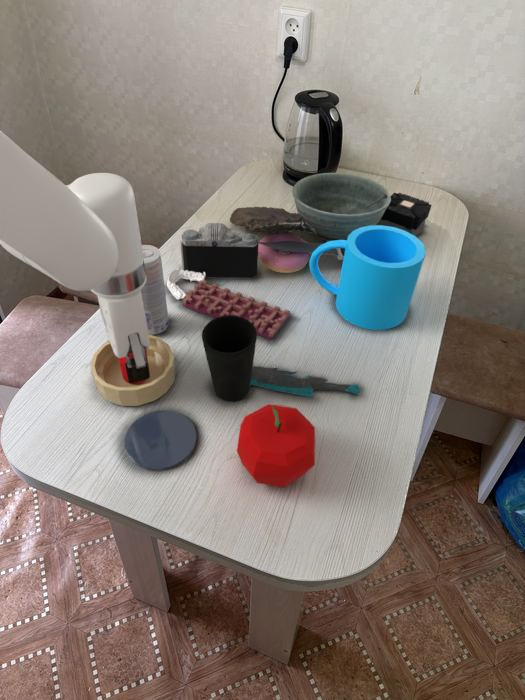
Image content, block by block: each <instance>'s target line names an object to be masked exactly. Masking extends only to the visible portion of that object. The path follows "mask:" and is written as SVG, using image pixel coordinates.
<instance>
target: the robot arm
mask: <svg viewBox="0 0 525 700" xmlns="http://www.w3.org/2000/svg"><path fill="white" fill-rule="evenodd" d="M137 211H138V210H137V205H136V199H135V193H134V189H133V187H132V185H131V183H130V182H129V181H128V180H127V179H126V178H124V177H123V176H122V175H121V176H120V175H118V174H116V173H110V172H93V173H89V174H85V175H82V176H80V177H78V178H76V179H75V180H74V181H72V182H71V183H70V184H67V185H66V184H65V183H63V181H61V180H60V179H59V178H57V176H55V175H54V174H53V173H51V172H50V171H49V170H48V169H47V168H46V167H44V166H43V165H41V164H40V163H39V162H38V161H37V160H36V159H34V158H33V157H32V156H31V155H30V154H28V153H27V152H26V151H25V150H24V149H23V148H21V147H20V146H19V145H18V144H17V143H15V142H14V141H13V140H12V139H11V138H10V137H9V136H8V135H6V133H4V132H3V131H1V130H0V246H1V247H2V248H3V249H4V250H5V251H7V252H8V253H9V254H11V255H12V256H14V257H15V258H16V259H19V260H20V261H22V262H23V263H25V264H26V265H28V266H30V267H32V268H33V269H36V270H37V271H39V272H40V273H42V274H44V275H46V276H47V277H49V278H51V279H52V280H53V281H55V282H57V283H58V284H60V285H61V286H63V287H65V288H67V289H70V290H72V291H73V290H74V291H76V292H77V291H78V292H87V291H88V292H89V291H90V292H91V293H93V294H94V295H96V297H97V301H98V306H99V309H100V310H99V311H100V316H101V320H102V321H101V322H102V324H103V327H104V330H105V333H106V335H107V339H108V341H110V344H111V346H112V349H113V351H114V354H115V356H116V357H118V358H123V357H125V358H126V362H127V363H125V367H126V372H127V377H128V381H129V383H130V384H132V383H135V382H139V381H142V380H145V379H148V378H150V374H149V368H148V362H147V358H146V355H145V351H144V350H146V351H147V350H148V349H149V347H150V342H149V334H148V328H147V322H146V316H145V311H144V306H143V300H142V295H141V289H142V288H143V287H144V285H145V283H146V280H147V279H146V272H145V265H144V258H143V251H142V245H143V244H142V239H141V231H140V226H139V225H140V223H139V219H138V212H137ZM129 353H133V357H134V358H131V359H130V356H129Z"/></svg>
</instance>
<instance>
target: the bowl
mask: <svg viewBox="0 0 525 700" xmlns="http://www.w3.org/2000/svg"><path fill="white" fill-rule="evenodd" d="M291 193H292V197H293V199H294V204H295V207H296V211H297V212H296V213H299V214H301V216H303V217H304V218H305V219H307V220H308V222H309V223H311V224H312V227H313V228H315V231H316V233H315V234H316V235H317V236H318V237H319V238H320V239H322V240H324V241H327V242H329V241H335V240H347V238H348V236H349V235H350V234H351V232H352V231H354V230H356V229H358V228H360V227H365V226H370V225H377V224H379V220H380V219H381V218H382V216H383V214H384V212H385V210H386V208H387V207H388V206H389V204H390V202H391V193H390V191H389V189H387V188H386V187H385V185H383V184H382V183H380V182H379V181H376V180H374V179H372V178H369V177H366V176H363V175H359V174H353V173H345V172H323V173H316V174H312V175H308V176H306V177H304V178H301V179H300V180H298V181H297V182H296V183H294V185H293V186H292V190H291ZM384 194H387V195H388V198H387V199H385V198H384V199H382V200H380V201H378V202H377V203H375V204H373V205H372V206H370V207H368V208H366V209H364V208H365V207H367V206H368V205H370V204H372V203H373V202H375V201H377V200H379V199H380V198H382V197H383V195H384Z"/></svg>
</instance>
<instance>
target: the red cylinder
mask: <svg viewBox="0 0 525 700" xmlns="http://www.w3.org/2000/svg"><path fill="white" fill-rule="evenodd" d="M144 351H145V355H146V358H147V353H146V350H144ZM129 356H130V359H131V358H134V357H133V353H129ZM118 359H119V363H120V368H121V372H122V377H123V379H124V380H125V381H126V382H128V383H129V381H128V377H127V372H126V367H125V363H127V362H126V358H125V357H123V358H118ZM147 362H148V359H147ZM148 368H149V365H148ZM149 374H150V371H149ZM145 380H146V379H145ZM145 380H142V381H139V382H135V383H132V384H137V383H141V382H143V381H145Z"/></svg>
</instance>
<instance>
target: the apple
mask: <svg viewBox="0 0 525 700" xmlns="http://www.w3.org/2000/svg"><path fill="white" fill-rule="evenodd" d="M238 433H239V434H238V440H237V446H236V452H237V455H238V458H239V460H240V462H241V465H242V466H243V467H244V469H245V470H246V471H247V472H248V474H249V475H250V476H251V477H252V479H253V480H254V482H256V484H260V485H267V486H273V487H280V488H286V487H287V486H288V485H290V484H292V483H294V482H295V481H296V480H298V479H300V478H301V477H303V476H305V475H306V474H307V473H308V472H309V471H311V469H312V468H313V467H314V466H315V465H316V463H315V461H316V427H315V425H313V423H311V422H310V421H309V420H308V419H307V417H306V416H305V415H303V413H302V412H301V411H300V410H298V408H296V407H291V406H284V405H277V404H273V399H272V404H271V403H267V404H265V405H264V406H262V407H260V408H259V409H256V410H255V411H253V412H250V413H249V414H247V415H244V417H243V420H242V422H241V423H240V425H239V432H238Z"/></svg>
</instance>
